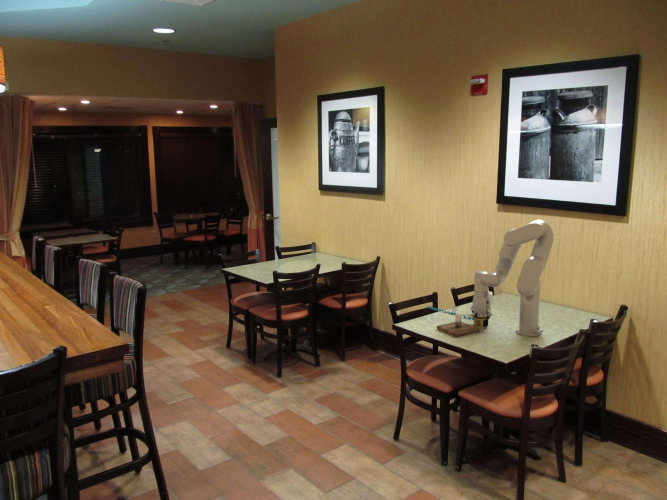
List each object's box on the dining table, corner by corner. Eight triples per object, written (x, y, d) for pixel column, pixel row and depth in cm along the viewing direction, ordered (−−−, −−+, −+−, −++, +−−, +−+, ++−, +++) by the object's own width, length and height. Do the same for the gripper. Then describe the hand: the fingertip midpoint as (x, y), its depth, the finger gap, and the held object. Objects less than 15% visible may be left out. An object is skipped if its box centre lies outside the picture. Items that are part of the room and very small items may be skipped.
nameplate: (471, 321, 307) (476, 319, 310) (471, 320, 307) (476, 318, 310) (424, 308, 336) (429, 306, 339) (424, 307, 336) (429, 305, 339)
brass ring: (490, 326, 296) (490, 318, 296) (480, 328, 293) (480, 320, 293) (481, 323, 303) (481, 315, 302) (471, 325, 300) (471, 317, 299)
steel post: (462, 327, 290) (462, 315, 289) (457, 328, 288) (457, 316, 287) (458, 325, 293) (458, 313, 291) (453, 326, 291) (453, 314, 290)
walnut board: (479, 332, 287) (479, 328, 287) (456, 337, 280) (456, 334, 280) (459, 324, 301) (459, 321, 301) (437, 329, 294) (437, 325, 294)
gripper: (497, 295, 289) (497, 327, 292) (475, 289, 304) (475, 319, 307) (487, 297, 285) (486, 330, 289) (465, 291, 301) (464, 321, 304)
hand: (480, 324), depth 298 cm, fingers closed on brass ring, 7 cm apart
